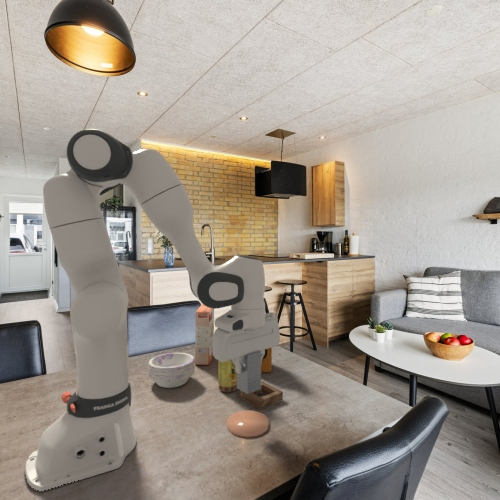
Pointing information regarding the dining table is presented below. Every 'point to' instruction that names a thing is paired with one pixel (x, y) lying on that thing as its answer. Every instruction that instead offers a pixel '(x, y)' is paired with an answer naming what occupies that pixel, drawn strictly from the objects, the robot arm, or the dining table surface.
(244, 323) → the robot arm
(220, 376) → the sauce bottle
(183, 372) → the paper bowls
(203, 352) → the cracker box
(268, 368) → the coffee package
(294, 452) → the dining table surface
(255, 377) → the steel peg
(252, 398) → the socket block
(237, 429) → the peach domed puck
